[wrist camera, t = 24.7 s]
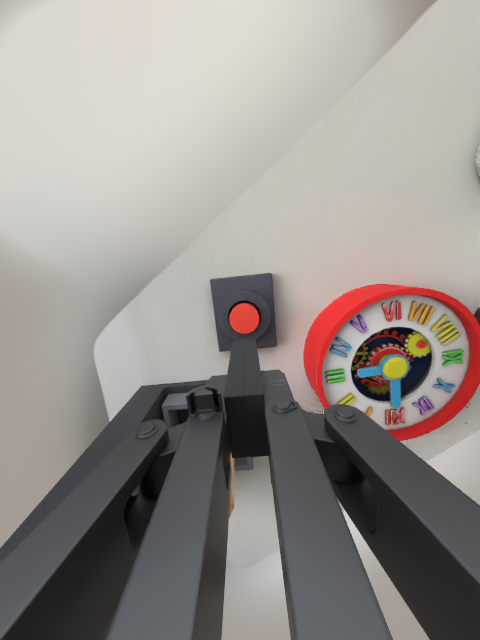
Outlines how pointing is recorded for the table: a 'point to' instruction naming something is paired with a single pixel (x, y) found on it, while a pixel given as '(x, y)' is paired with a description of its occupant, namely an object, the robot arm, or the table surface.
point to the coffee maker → (142, 407)
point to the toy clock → (395, 356)
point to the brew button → (244, 318)
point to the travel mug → (477, 316)
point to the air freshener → (478, 160)
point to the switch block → (244, 291)
